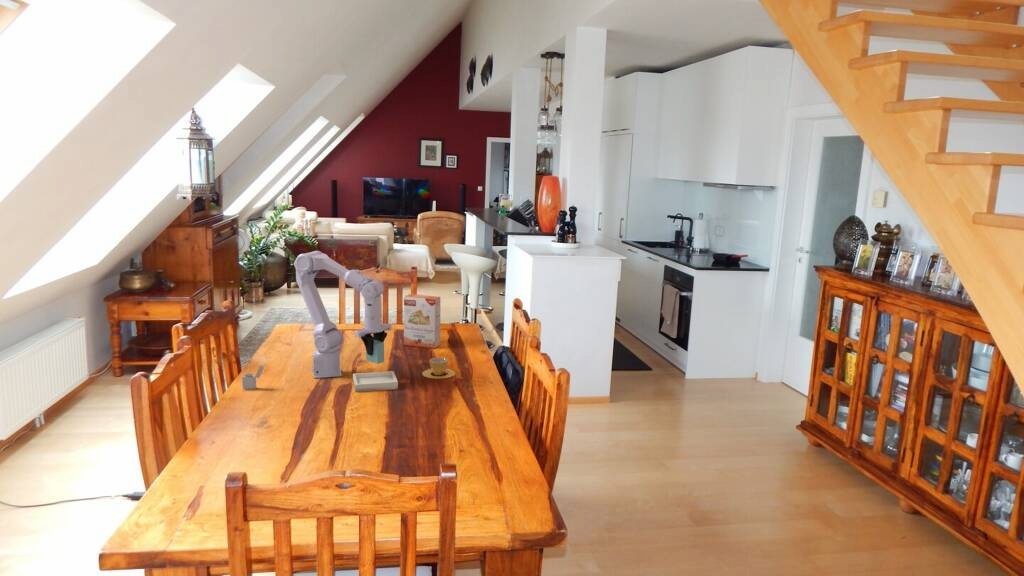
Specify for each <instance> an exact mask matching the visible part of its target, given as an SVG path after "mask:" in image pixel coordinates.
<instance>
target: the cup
mask: <svg viewBox="0 0 1024 576" xmlns="http://www.w3.org/2000/svg"><path fill="white" fill-rule="evenodd" d="M448 361H449V360H448V358H446V357H432V358H430V359H429V365H430V366H429V367H430V368H428V369H426V370H424V371H422V373H421V374H422V376H423V377H425V378H428V379H435V380H436V379H438V380H440V379H448V378H449V379H450V378H451V377H454V376H455V375H456V371H454V370H452V369H450V368H448V363H449V362H448ZM446 372H447V373H448V374H447V373H446ZM432 373H433V374H434V375H432ZM445 373H446V375H444V374H445Z"/></svg>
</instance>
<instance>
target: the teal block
mask: <svg viewBox="0 0 1024 576" xmlns="http://www.w3.org/2000/svg"><path fill="white" fill-rule="evenodd" d="M365 357H366V358H365V360H366V361H367V362H370V363H374V364H376V365H379V364H382V363H383V364H384V363H385V341H384V342H380V341H377V340H374V344H373V355H368V354H367V351H366V350H365Z"/></svg>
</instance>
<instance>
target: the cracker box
mask: <svg viewBox="0 0 1024 576" xmlns="http://www.w3.org/2000/svg"><path fill="white" fill-rule="evenodd" d="M403 345H404V346H409V347H417V348H425V349H426V348H427V349H433V350H435V349H436V348H438V347H439V346H441V296H435V295H425V294H424V295H423V294H413V293H409V294H408V295H405V296H403Z"/></svg>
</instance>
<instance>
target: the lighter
mask: <svg viewBox="0 0 1024 576" xmlns="http://www.w3.org/2000/svg"><path fill="white" fill-rule="evenodd" d="M265 367H266V366H265V365H263V364H260V366H259V367H258V370H257V372H256V374H254V375H253V372H247V373H244V375H242V377H241V385H242V390H243V389H249V390H256V389H257V379H259V378H260V377H261V375H262V373H263V370H264V369H265Z"/></svg>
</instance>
